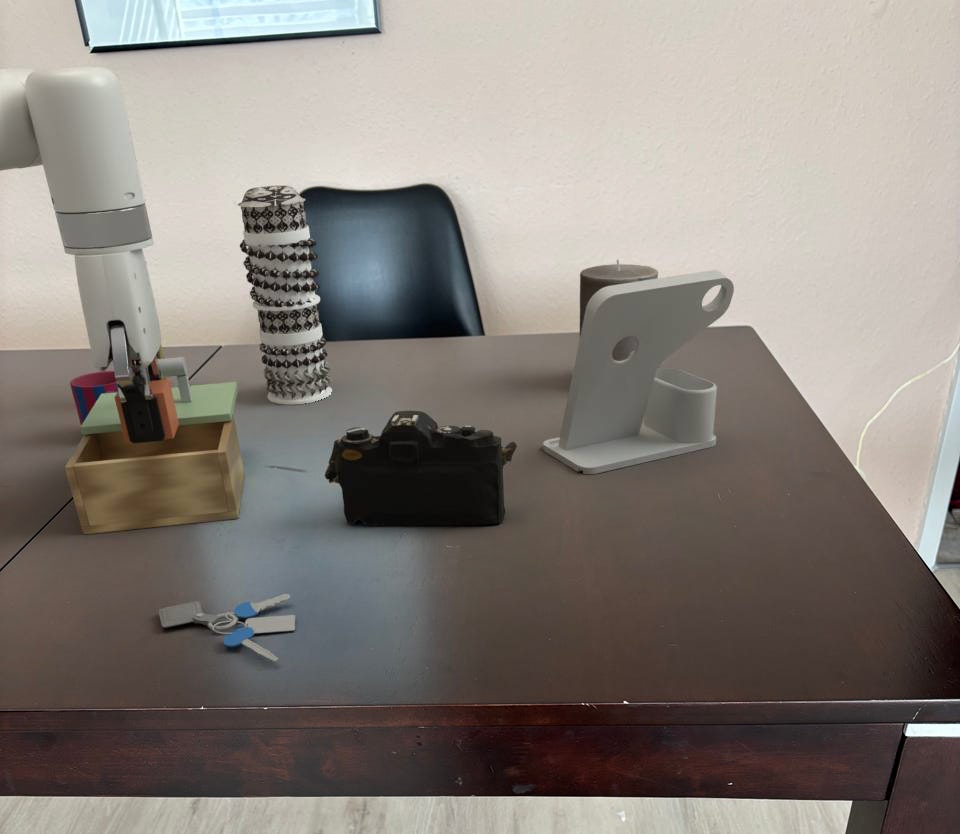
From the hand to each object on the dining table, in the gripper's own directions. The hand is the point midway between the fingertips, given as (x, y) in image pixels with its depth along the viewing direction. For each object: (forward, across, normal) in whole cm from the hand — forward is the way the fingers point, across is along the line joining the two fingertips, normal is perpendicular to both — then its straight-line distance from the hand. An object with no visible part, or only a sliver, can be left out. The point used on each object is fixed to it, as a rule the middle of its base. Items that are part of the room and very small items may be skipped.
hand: (151, 430), depth 95 cm
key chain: (+8, +26, +9) cm, 29 cm away
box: (+8, 0, 0) cm, 8 cm away
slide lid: (+1, -9, 0) cm, 9 cm away
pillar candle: (+8, -27, +54) cm, 61 cm away
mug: (+8, -23, -9) cm, 26 cm away
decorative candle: (+8, -34, +13) cm, 38 cm away
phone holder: (+8, -3, +49) cm, 50 cm away
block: (0, 0, 0) cm, 0 cm away
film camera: (+8, +8, +25) cm, 27 cm away
